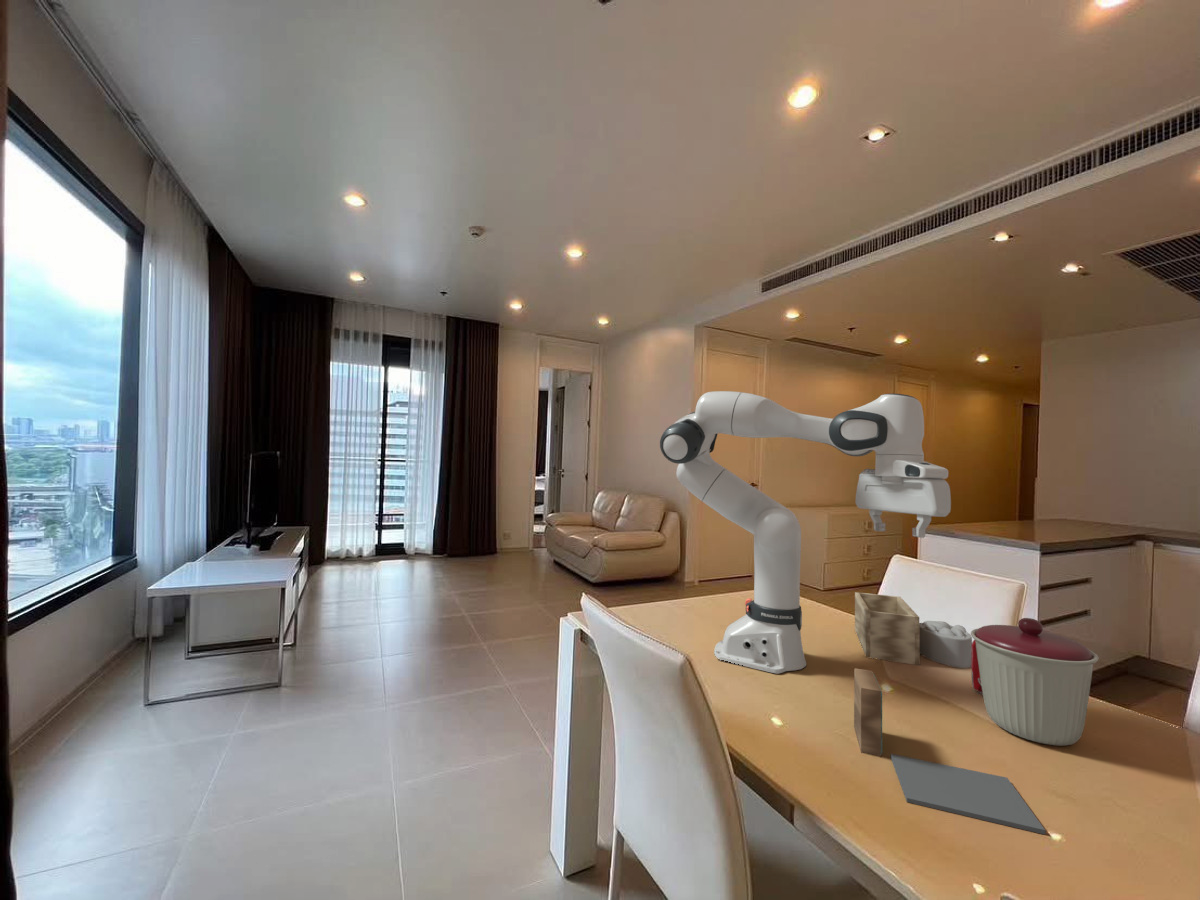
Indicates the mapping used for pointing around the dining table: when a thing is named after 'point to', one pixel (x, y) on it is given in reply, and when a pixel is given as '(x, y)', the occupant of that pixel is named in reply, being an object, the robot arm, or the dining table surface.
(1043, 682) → the canister
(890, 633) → the birch crate
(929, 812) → the dining table surface
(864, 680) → the walnut slab
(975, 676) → the soda can
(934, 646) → the lumpy-topped squat cylinder
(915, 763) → the rubber mat
